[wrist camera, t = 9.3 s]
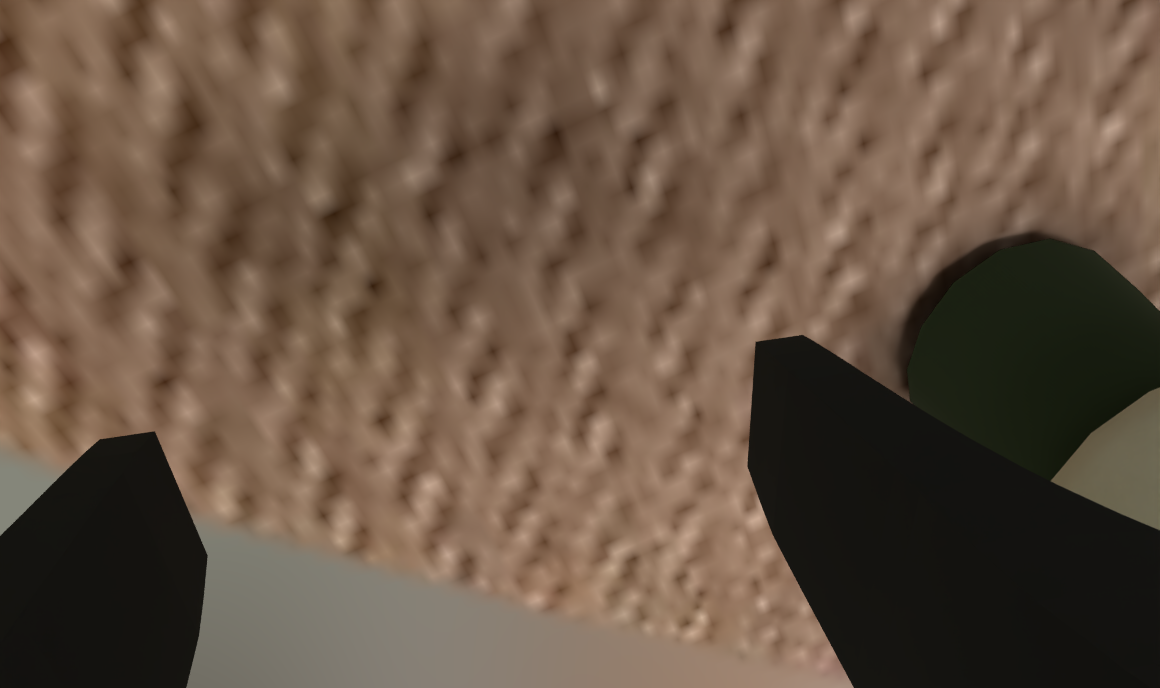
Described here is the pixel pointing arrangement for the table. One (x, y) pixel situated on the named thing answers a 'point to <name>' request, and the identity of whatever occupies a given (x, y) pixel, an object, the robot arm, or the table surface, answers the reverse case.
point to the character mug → (1051, 371)
